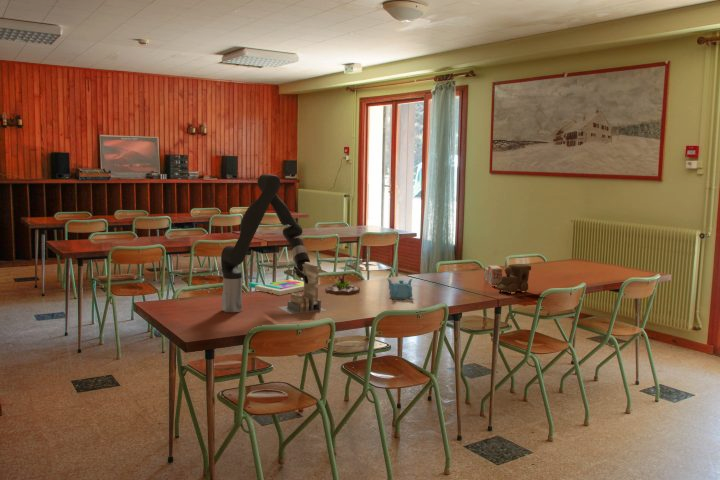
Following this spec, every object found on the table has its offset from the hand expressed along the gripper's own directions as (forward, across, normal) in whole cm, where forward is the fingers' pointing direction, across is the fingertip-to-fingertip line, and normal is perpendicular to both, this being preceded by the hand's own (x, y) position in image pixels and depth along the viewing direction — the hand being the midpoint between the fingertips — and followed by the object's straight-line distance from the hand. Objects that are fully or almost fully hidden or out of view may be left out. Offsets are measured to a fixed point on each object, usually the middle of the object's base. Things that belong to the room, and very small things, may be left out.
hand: (309, 282), depth 338 cm
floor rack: (+11, -5, +9) cm, 15 cm away
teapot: (+4, +61, +16) cm, 63 cm away
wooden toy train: (+14, +135, +6) cm, 136 cm away
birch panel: (+8, 0, +6) cm, 10 cm away
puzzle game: (-31, +8, +52) cm, 61 cm away
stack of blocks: (-4, +140, +23) cm, 142 cm away
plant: (-15, +39, +36) cm, 55 cm away
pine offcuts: (+10, -6, +8) cm, 14 cm away
